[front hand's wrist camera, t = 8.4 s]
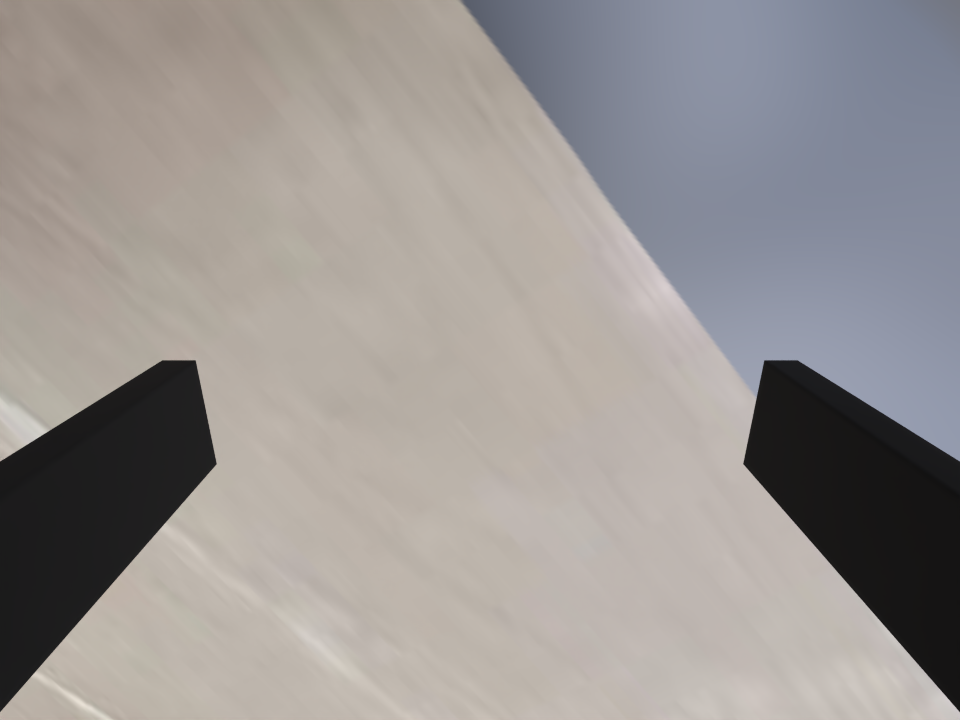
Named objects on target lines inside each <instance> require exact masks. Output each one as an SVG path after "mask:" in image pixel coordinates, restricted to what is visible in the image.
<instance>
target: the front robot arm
mask: <svg viewBox="0 0 960 720" xmlns="http://www.w3.org/2000/svg"><path fill="white" fill-rule="evenodd" d="M216 464H217V463H216V458H215V454H214V449H213V444H212V439H211V434H210V429H209V424H208V419H207V414H206V409H205V404H204V399H203V395H202V390H201V385H200V380H199V375H198V370H197V365H196V360H162V361H161V362H159V363H158V364H156V365H154V366H153V367H151V368H150V369H148V370H146V371H145V372H143V373H142V374H140V375H138V376H137V377H135V378H134V379H132V380H130V381H129V382H127V383H125V384H124V385H122V386H121V387H119V388H117V389H116V390H114V391H113V392H111V393H109V394H108V395H106V396H105V397H103V398H101V399H100V400H98V401H97V402H95V403H93V404H92V405H90V406H89V407H87V408H85V409H84V410H82V411H81V412H79V413H77V414H76V415H74V416H73V417H71V418H69V419H68V420H66V421H65V422H63V423H61V424H60V425H58V426H57V427H55V428H53V429H52V430H50V431H49V432H47V433H45V434H44V435H42V436H41V437H39V438H37V439H36V440H34V441H33V442H31V443H29V444H28V445H26V446H24V447H23V448H21V449H20V450H18V451H16V452H15V453H13V454H12V455H10V456H8V457H7V458H5V459H4V460H2V461H0V712H1V710H2V709H3V708H4V707H5V706H6V705H7V704H8V702H9V701H10V700H11V699H12V698H13V697H14V696H15V694H16V693H17V692H18V691H19V690H20V689H21V688H22V686H23V685H24V684H25V683H26V682H27V681H28V680H29V678H30V677H31V676H32V675H33V674H34V673H35V671H36V670H37V669H38V668H39V667H40V666H41V665H42V663H43V662H44V661H45V660H46V659H47V658H48V657H49V655H50V654H51V653H52V652H53V651H54V650H55V649H56V647H57V646H58V645H59V644H60V643H61V642H62V641H63V639H64V638H65V637H66V636H67V635H68V634H69V633H70V631H71V630H72V629H73V628H74V627H75V626H76V625H77V623H78V622H79V621H80V620H81V619H82V618H83V617H84V615H85V614H86V613H87V612H88V611H89V610H90V608H91V607H92V606H93V605H94V604H95V603H96V602H97V600H98V599H99V598H100V597H101V596H102V595H103V594H104V592H105V591H106V590H107V589H108V588H109V587H110V586H111V584H112V583H113V582H114V581H115V580H116V579H117V578H118V576H119V575H120V574H121V573H122V572H123V571H124V570H125V568H126V567H127V566H128V565H129V564H130V563H131V562H132V560H133V559H134V558H135V557H136V556H137V555H138V554H139V552H140V551H141V550H142V549H143V548H144V547H145V545H146V544H147V543H148V542H149V541H150V540H151V539H152V537H153V536H154V535H155V534H156V533H157V532H158V531H159V529H160V528H161V527H162V526H163V525H164V524H165V523H166V521H167V520H168V519H169V518H170V517H171V516H172V515H173V513H174V512H175V511H176V510H177V509H178V508H179V507H180V505H181V504H182V503H183V502H184V501H185V500H186V499H187V497H188V496H189V495H190V494H191V493H192V492H193V491H194V489H195V488H196V487H197V486H198V485H199V484H200V483H201V481H202V480H203V479H204V478H205V477H206V476H207V474H208V473H209V472H210V471H211V470H212V469H213V468H214V466H215V465H216ZM743 464H744V465H745V466H746V468H747V469H748V470H749V471H750V472H751V473H752V474H753V476H754V477H755V478H756V479H757V480H758V481H759V483H760V484H761V485H762V486H763V487H764V488H765V489H766V491H767V492H768V493H769V494H770V495H771V496H772V497H773V499H774V500H775V501H776V502H777V503H778V504H779V505H780V507H781V508H782V509H783V510H784V511H785V512H786V513H787V515H788V516H789V517H790V518H791V519H792V520H793V521H794V523H795V524H796V525H797V526H798V527H799V528H800V529H801V531H802V532H803V533H804V534H805V535H806V536H807V537H808V539H809V540H810V541H811V542H812V543H813V544H814V546H815V547H816V548H817V549H818V550H819V551H820V552H821V554H822V555H823V556H824V557H825V558H826V559H827V560H828V562H829V563H830V564H831V565H832V566H833V567H834V568H835V570H836V571H837V572H838V573H839V574H840V575H841V576H842V578H843V579H844V580H845V581H846V582H847V583H848V584H849V586H850V587H851V588H852V589H853V590H854V591H855V592H856V594H857V595H858V596H859V597H860V598H861V599H862V600H863V602H864V603H865V604H866V605H867V606H868V607H869V608H870V610H871V611H872V612H873V613H874V614H875V615H876V617H877V618H878V619H879V620H880V621H881V622H882V623H883V625H884V626H885V627H886V628H887V629H888V630H889V631H890V633H891V634H892V635H893V636H894V637H895V638H896V639H897V641H898V642H899V643H900V644H901V645H902V646H903V647H904V649H905V650H906V651H907V652H908V653H909V654H910V655H911V657H912V658H913V659H914V660H915V661H916V662H917V663H918V665H919V666H920V667H921V668H922V669H923V670H924V671H925V673H926V674H927V675H928V676H929V677H930V678H931V680H932V681H933V682H934V683H935V684H936V685H937V686H938V688H939V689H940V690H941V691H942V692H943V693H944V694H945V696H946V697H947V698H948V699H949V700H950V701H951V702H952V704H953V705H954V706H955V707H956V708H957V709H958V710H959V712H960V461H958V460H956V459H955V458H953V457H952V456H950V455H948V454H947V453H945V452H943V451H942V450H940V449H939V448H937V447H936V446H934V445H932V444H931V443H929V442H927V441H926V440H924V439H923V438H921V437H919V436H918V435H916V434H915V433H913V432H911V431H910V430H908V429H907V428H905V427H903V426H902V425H900V424H899V423H897V422H895V421H894V420H892V419H891V418H889V417H887V416H886V415H884V414H883V413H881V412H879V411H878V410H876V409H875V408H873V407H871V406H870V405H868V404H867V403H865V402H863V401H862V400H860V399H859V398H857V397H855V396H854V395H852V394H851V393H849V392H847V391H846V390H844V389H843V388H841V387H839V386H838V385H836V384H835V383H833V382H831V381H830V380H828V379H826V378H825V377H823V376H822V375H820V374H818V373H817V372H815V371H814V370H812V369H810V368H809V367H807V366H806V365H804V364H802V363H801V362H799V361H796V360H790V361H789V360H788V361H786V360H781V361H779V360H776V361H775V360H774V361H773V360H771V361H770V360H768V361H764V365H763V370H762V375H761V380H760V385H759V390H758V395H757V399H756V404H755V409H754V414H753V419H752V424H751V429H750V434H749V439H748V444H747V449H746V454H745V458H744V463H743Z"/></svg>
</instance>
